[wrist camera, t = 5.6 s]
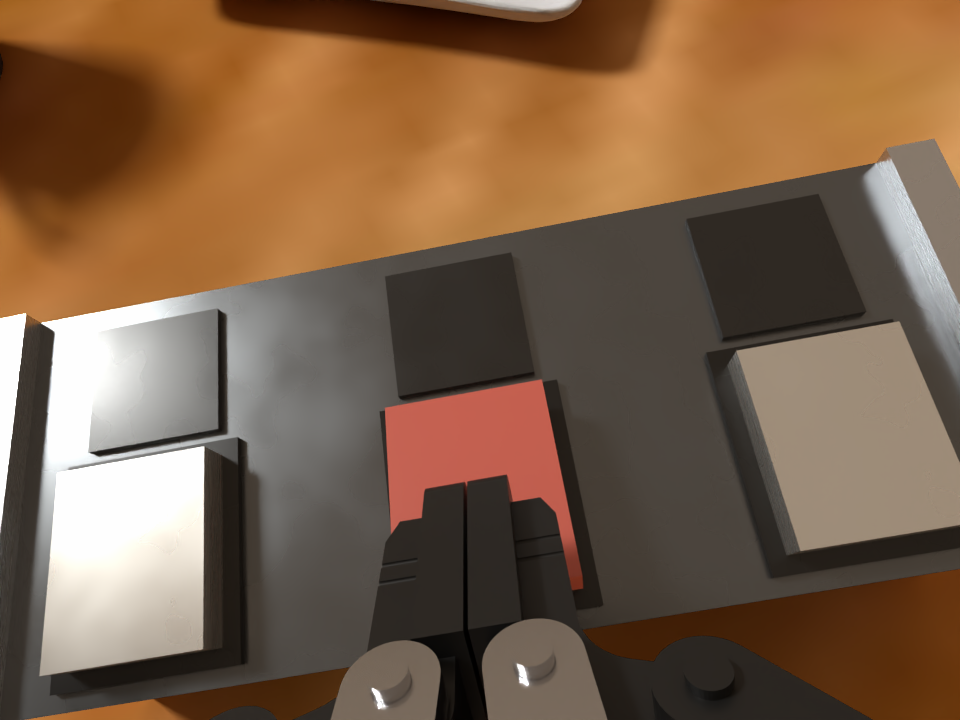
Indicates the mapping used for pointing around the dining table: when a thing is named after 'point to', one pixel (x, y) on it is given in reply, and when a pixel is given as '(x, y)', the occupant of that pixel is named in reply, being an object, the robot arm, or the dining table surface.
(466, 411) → the middle rocker
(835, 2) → the dining table surface
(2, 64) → the coffee mug
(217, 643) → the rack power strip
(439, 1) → the salad plate
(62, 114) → the dining table surface
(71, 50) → the dining table surface
